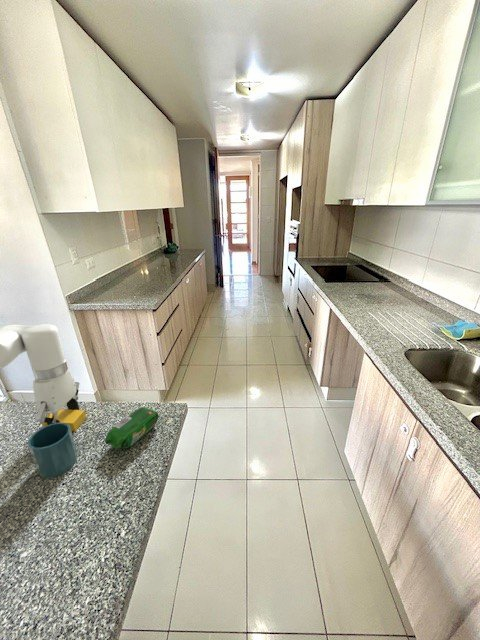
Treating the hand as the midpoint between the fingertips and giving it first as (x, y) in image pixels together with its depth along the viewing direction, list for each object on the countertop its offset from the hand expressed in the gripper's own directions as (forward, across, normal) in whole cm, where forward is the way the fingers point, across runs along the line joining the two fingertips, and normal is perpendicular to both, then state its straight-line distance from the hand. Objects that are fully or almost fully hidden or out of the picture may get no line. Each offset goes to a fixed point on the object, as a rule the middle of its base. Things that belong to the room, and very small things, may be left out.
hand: (65, 421), depth 76 cm
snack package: (+1, +3, +22) cm, 22 cm away
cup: (+1, +13, +7) cm, 15 cm away
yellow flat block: (+1, 0, 0) cm, 1 cm away
